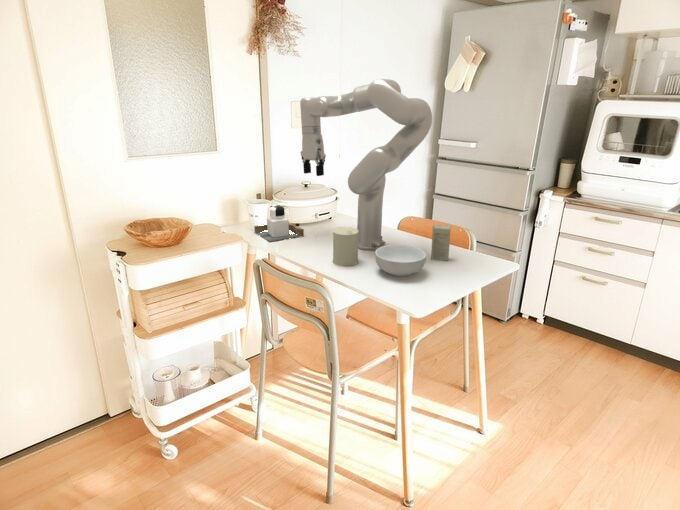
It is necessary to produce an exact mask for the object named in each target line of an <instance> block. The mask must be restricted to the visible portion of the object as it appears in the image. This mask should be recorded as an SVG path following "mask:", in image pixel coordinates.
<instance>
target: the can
mask: <svg viewBox="0 0 680 510" xmlns="http://www.w3.org/2000/svg"><path fill="white" fill-rule="evenodd" d="M358 234H359V231H358V230H357V228H355V227H349V226H348V227H347V226H345V227H344V226H341V227H337V228H334V229H333V230H332V237H333V238H332V240H333V243H332V246H333V247H332V249H333V251H332V252H333V253H332V262H333V264H334V263H335V265H337V266H340V265H341V266H342V267H350V266H354V265H356V264H358V263H359V248H358Z"/></svg>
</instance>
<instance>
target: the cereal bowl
mask: <svg viewBox="0 0 680 510" xmlns="http://www.w3.org/2000/svg"><path fill="white" fill-rule="evenodd" d="M374 256H375V257H374V259H375V263H376V265H377V267H378V268H379V269H380V270H382V271H383V272H386V273H387V274H390V275H392V276H395V277H406V276H409V275H413V274H415V273H418V272H419V271H420V270H421V269H422V268H423V267H424V266H425V263H426V259H427V258H426V257H427V255H426V252H425V251H424V250H422V249H420V248H419V247H417V246H412V245H409V244H408V245H407V244H388V245H385V246H383V247H380V248H378V249H376V250H375V252H374Z"/></svg>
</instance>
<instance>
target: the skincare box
mask: <svg viewBox="0 0 680 510" xmlns="http://www.w3.org/2000/svg"><path fill="white" fill-rule="evenodd" d="M450 240H451V225H443V224H442V225H438V224H433V226H432V237H431V252H430V253H431V254H430V256H431V257H430V260H433V261H445V262H448V261H449V256H450V255H449V254H450Z"/></svg>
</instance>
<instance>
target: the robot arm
mask: <svg viewBox="0 0 680 510" xmlns="http://www.w3.org/2000/svg"><path fill="white" fill-rule="evenodd" d="M299 103H300V119H301V121H300V122H301V135H302V139H301V149H302V150H301V151H300V155H301V160H302V164H303V165H302V166H303V174H310V173H312V167H311V165H312V164H311V161H312V162H313V161H314V162H315V164H316V165H315V172H316V173H315V174H316V177H321V176H324V175H325V171H324V170H325V169H324V167H325V166H324V165H325V162H326V157H327V155H326V153H325V147H324V145H325V144H324V140H323V135H322V126H321V125H322V124H321V123H322V122H321V118H330V117H331V118H332V117H340V116H346V115H349V114H350V115H351V114H354V113H360V112H365V111H370V110H373V109H378V110H379V111H380V112H382V113H383V115H386V116H387V117H389V118H390V119H391V120H392V121H394V123H397V124H399V125H402V126H403V127H402V128H401V129H400V130H399V131H398V132H397V133H395V135H394V136H393V137H392V138H391V139H390V141H388V142H387V143H386V144H384V145H381V146H378V147H374V148H372V150H370V151H369V152H368V153H367V154H365V156H364V157H363V158H362V159H361V160H360V162H359V163H357V165H356V166H355V167H353V168H352V170H351V172H350V173H349V175H348V178H347V185H348V189H349V190H350V191H351V192H352V193H353V194H355V195H358V197H357V228H356V229H357V230H358V231H359V234H358V250H359V249H360V250H366V251H374V250H375V251H376V250H377V249H378V248H380V247H383V246H386V241H384V240H383V235H382V226H383V225H382V223H383V204H384V202H383V201H384V192H385V186H386V182H387V181H386V174H389V173H391V172H394V171H395V170H397V169H398V168H399V167H400V166H401V164H402V163H403V162H404V161H405V160H406V159H408V157H409V156H410V155H411V154H412V153H413V152H414V151H415V150H416V149H417V148H418V146H419V145H420V144H421V143H422V142H423V141H424V140H425V138H426V137H427V136H428V135H429V133H430V130H431V127H432V123H433V114H432V109H431V107H430V105H429V103H428V102H427V101H425V100H424V99H421V98H416V97H410V98H409V97H407V96H406V95H404V94H403V93H402V88H401V85H400V84H399V83H398V82H397V81H395V80H393V79H389V78H387V79H386V78H377V79H375V80H373V81H372V82H370V83H369V84H364V85H359V86H357V87H355V88H354V89H353V91H351V92H348V93H344V94H341V95H328V96H327V95H323V96H322V95H321V96H317V97H303V98H301V99H300V102H299Z"/></svg>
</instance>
